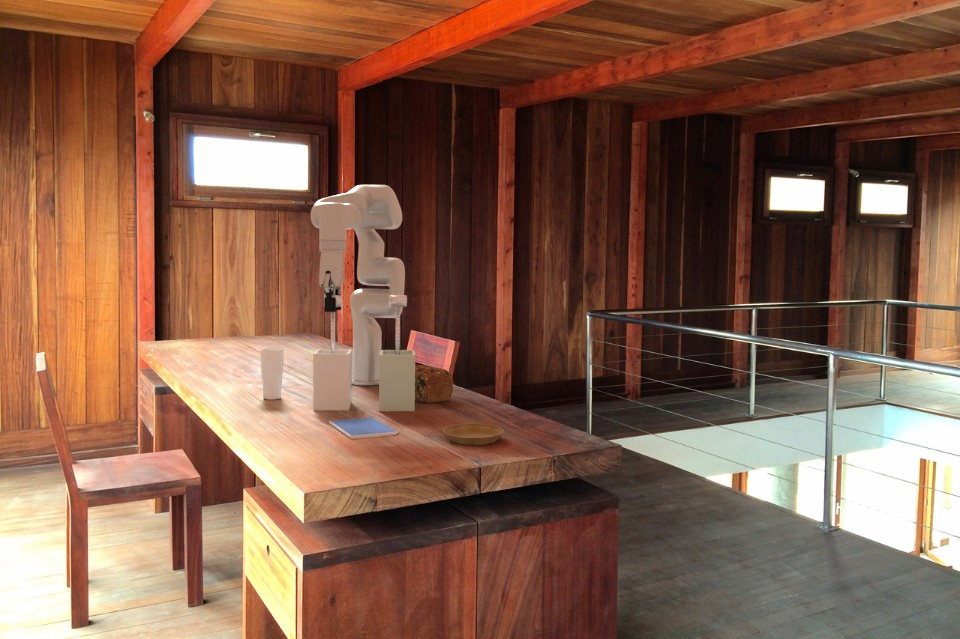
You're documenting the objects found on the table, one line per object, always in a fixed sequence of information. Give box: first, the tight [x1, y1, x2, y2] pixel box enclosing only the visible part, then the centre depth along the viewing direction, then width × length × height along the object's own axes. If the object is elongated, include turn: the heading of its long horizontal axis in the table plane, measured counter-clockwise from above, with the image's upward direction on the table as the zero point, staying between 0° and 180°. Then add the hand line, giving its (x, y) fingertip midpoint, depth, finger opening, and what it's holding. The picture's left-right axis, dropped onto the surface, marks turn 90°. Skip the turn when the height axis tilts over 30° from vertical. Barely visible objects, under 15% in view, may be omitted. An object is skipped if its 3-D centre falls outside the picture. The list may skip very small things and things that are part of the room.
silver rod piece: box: [389, 294, 408, 355], centre depth 231 cm, size 8×8×21 cm
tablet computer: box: [328, 416, 399, 440], centre depth 207 cm, size 19×13×1 cm, turn 27°
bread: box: [415, 364, 454, 404], centre depth 248 cm, size 19×11×10 cm, turn 32°
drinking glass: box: [259, 347, 285, 401], centre depth 242 cm, size 7×7×15 cm
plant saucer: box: [442, 423, 505, 446], centre depth 197 cm, size 15×15×3 cm
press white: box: [312, 348, 353, 411], centre depth 232 cm, size 10×10×16 cm
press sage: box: [378, 349, 416, 412], centre depth 232 cm, size 10×10×16 cm
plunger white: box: [323, 295, 343, 354], centre depth 231 cm, size 8×8×21 cm
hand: (332, 310), depth 230 cm, fingers closed on plunger white, 5 cm apart
